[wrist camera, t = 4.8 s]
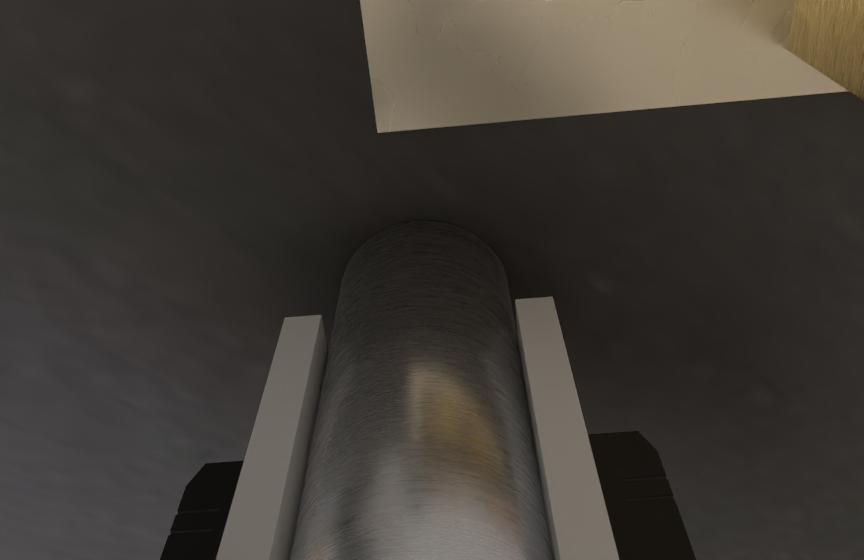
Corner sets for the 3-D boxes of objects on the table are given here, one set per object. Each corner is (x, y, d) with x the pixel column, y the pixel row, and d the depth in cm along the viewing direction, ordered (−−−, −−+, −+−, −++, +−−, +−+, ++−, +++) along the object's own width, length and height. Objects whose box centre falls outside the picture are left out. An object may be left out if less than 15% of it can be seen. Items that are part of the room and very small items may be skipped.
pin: (339, 382, 20) (232, 1071, 9) (307, 213, 18) (108, 876, 7) (528, 368, 20) (651, 1056, 9) (522, 195, 17) (680, 848, 6)
